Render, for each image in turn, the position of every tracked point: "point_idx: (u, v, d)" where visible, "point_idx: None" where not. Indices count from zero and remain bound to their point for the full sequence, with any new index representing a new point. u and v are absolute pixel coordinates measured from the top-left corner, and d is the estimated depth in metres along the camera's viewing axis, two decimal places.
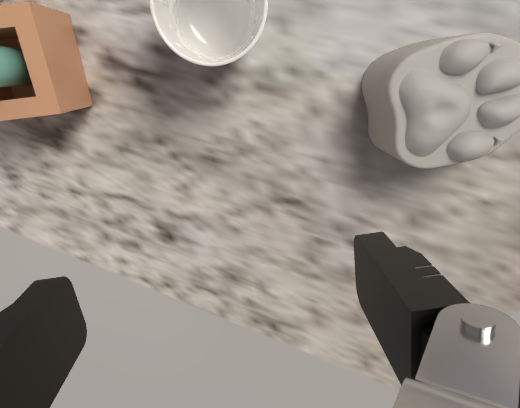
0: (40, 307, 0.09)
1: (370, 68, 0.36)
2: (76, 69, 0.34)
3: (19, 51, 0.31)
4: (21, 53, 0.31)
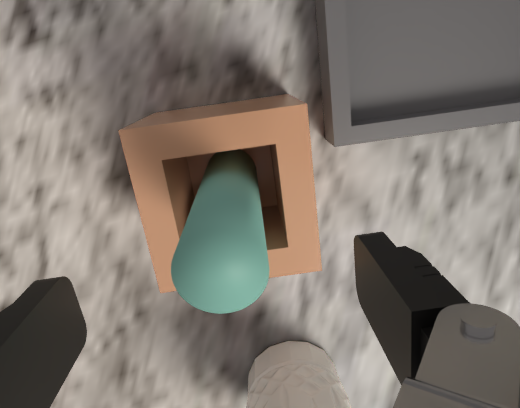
0: (40, 307, 0.09)
1: None
2: None
3: None
4: None
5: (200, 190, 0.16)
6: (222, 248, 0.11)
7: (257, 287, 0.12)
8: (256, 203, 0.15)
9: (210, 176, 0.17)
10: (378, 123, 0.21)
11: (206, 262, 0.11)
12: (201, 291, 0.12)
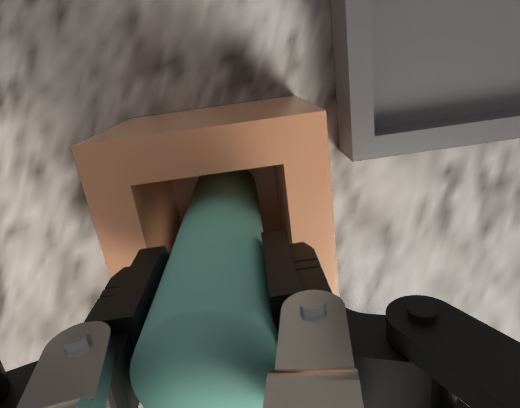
0: (155, 269, 0.10)
1: None
2: None
3: None
4: None
5: (183, 227, 0.12)
6: (209, 343, 0.07)
7: None
8: (260, 248, 0.11)
9: (198, 205, 0.13)
10: (408, 132, 0.17)
11: (185, 362, 0.07)
12: (178, 403, 0.08)
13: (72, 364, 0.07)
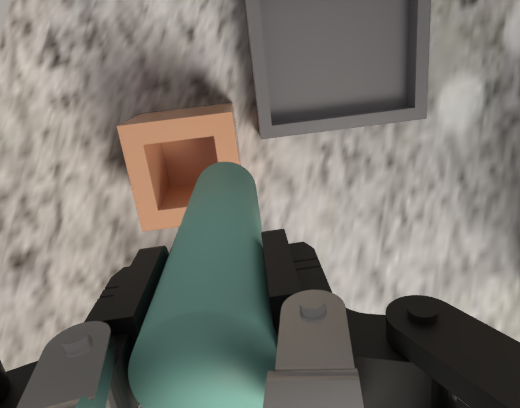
0: (155, 269, 0.10)
1: None
2: None
3: None
4: None
5: (182, 227, 0.12)
6: (208, 342, 0.07)
7: (263, 395, 0.08)
8: (258, 248, 0.11)
9: (197, 205, 0.13)
10: (289, 124, 0.31)
11: (183, 363, 0.07)
12: (177, 403, 0.08)
13: (72, 364, 0.07)
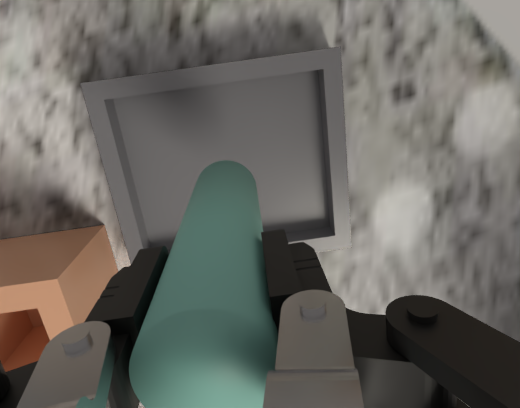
0: (155, 269, 0.10)
1: None
2: None
3: None
4: None
5: (183, 225, 0.12)
6: (209, 340, 0.07)
7: None
8: (259, 246, 0.11)
9: (197, 203, 0.13)
10: None
11: (184, 360, 0.07)
12: (178, 401, 0.08)
13: (72, 364, 0.07)
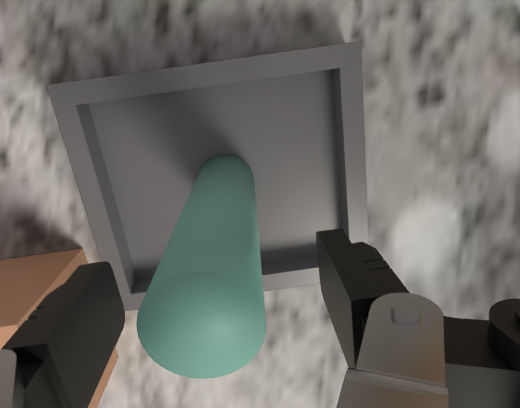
0: (89, 288, 0.09)
1: None
2: None
3: None
4: None
5: (184, 210, 0.13)
6: (204, 299, 0.09)
7: (250, 346, 0.09)
8: (251, 228, 0.12)
9: (198, 191, 0.14)
10: None
11: (183, 316, 0.09)
12: (177, 351, 0.09)
13: None
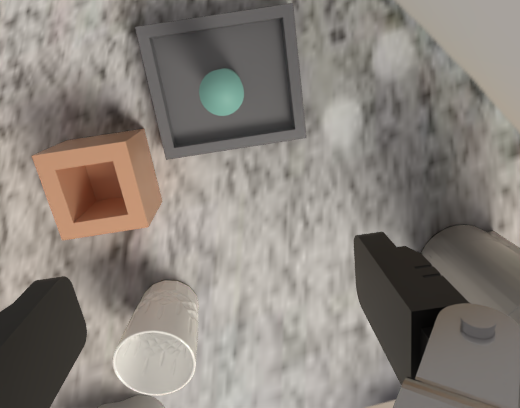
0: (40, 307, 0.09)
1: (150, 402, 0.50)
2: None
3: None
4: None
5: None
6: (222, 80, 0.25)
7: (238, 101, 0.26)
8: (239, 77, 0.29)
9: None
10: (189, 146, 0.37)
11: (215, 88, 0.25)
12: (213, 103, 0.26)
13: None
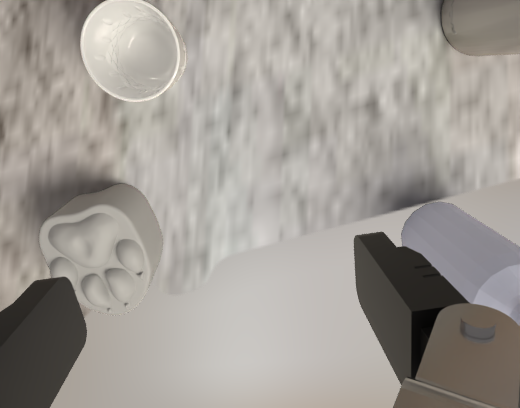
0: (40, 307, 0.09)
1: (131, 189, 0.44)
2: None
3: None
4: None
5: None
6: None
7: None
8: None
9: None
10: None
11: None
12: None
13: None
